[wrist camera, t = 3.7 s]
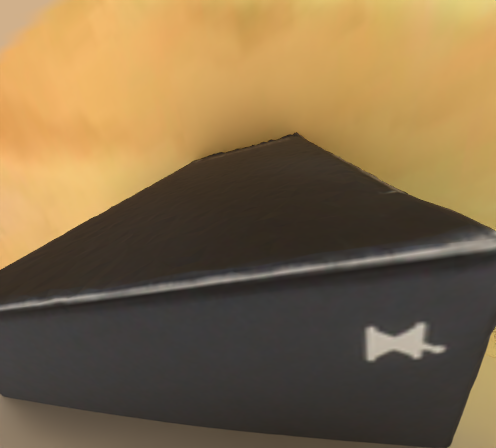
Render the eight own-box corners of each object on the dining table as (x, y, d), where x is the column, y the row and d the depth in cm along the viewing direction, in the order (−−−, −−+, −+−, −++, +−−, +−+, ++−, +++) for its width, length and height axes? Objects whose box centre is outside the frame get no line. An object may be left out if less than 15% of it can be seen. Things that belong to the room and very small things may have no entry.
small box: (183, 160, 12) (-173, 323, 2) (302, 130, 11) (633, 188, 1) (234, 301, 16) (189, 562, 6) (322, 289, 15) (424, 583, 5)
